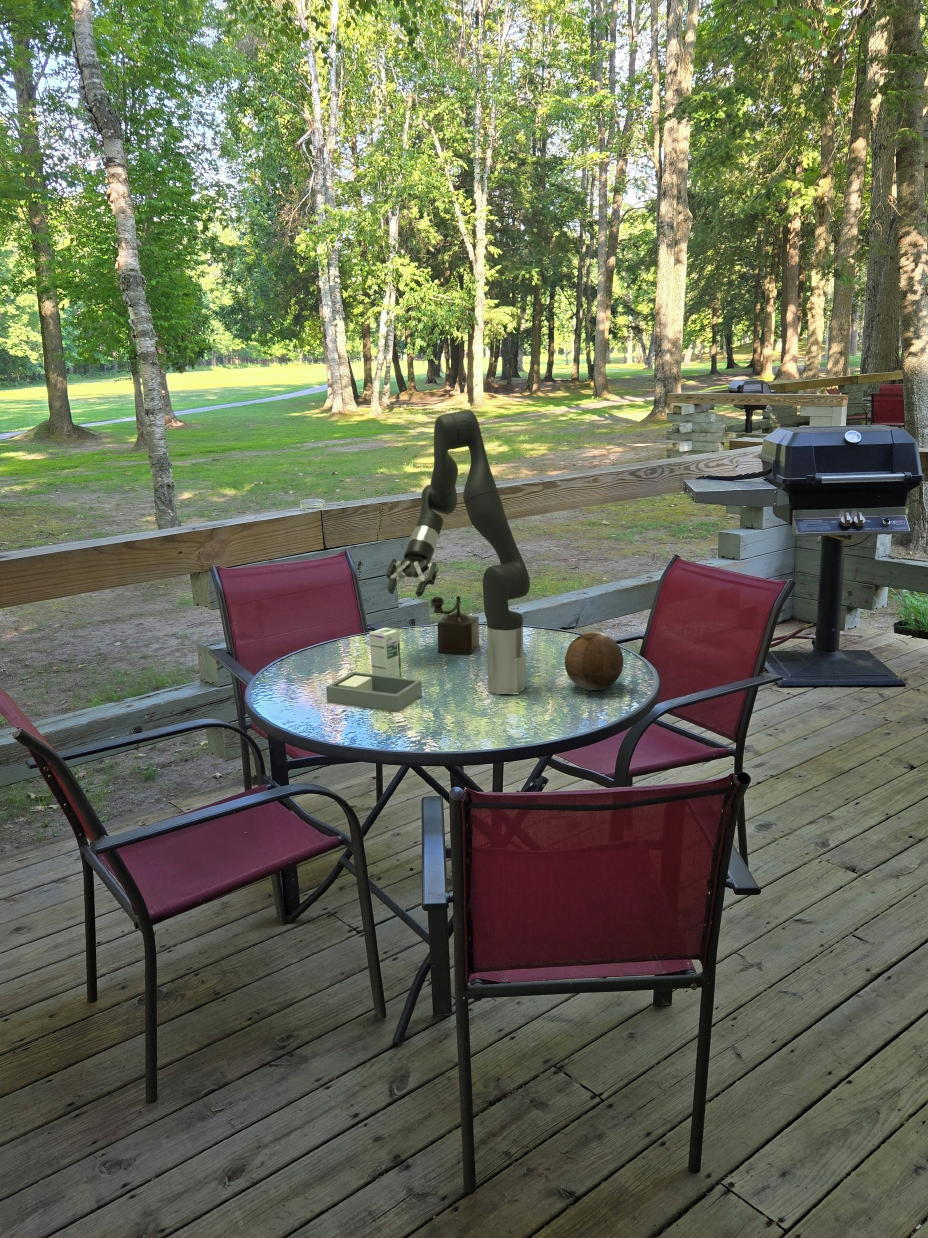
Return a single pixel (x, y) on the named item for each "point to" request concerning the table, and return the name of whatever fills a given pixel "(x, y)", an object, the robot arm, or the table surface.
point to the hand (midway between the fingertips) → (404, 593)
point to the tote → (377, 692)
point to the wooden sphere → (594, 661)
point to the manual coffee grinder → (456, 630)
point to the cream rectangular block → (358, 683)
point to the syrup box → (385, 652)
